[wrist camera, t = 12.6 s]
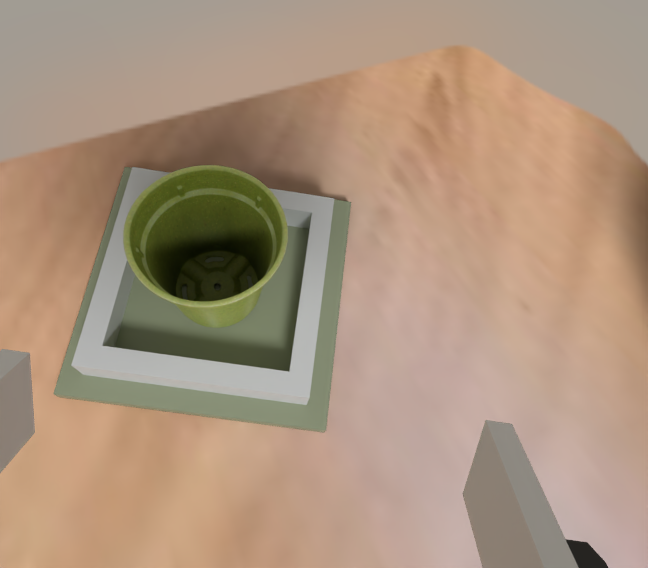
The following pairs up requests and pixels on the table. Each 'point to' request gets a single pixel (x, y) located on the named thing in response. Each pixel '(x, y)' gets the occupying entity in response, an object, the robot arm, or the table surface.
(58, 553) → the table surface
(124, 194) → the grey green square tray
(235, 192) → the plant pot
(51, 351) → the table surface
